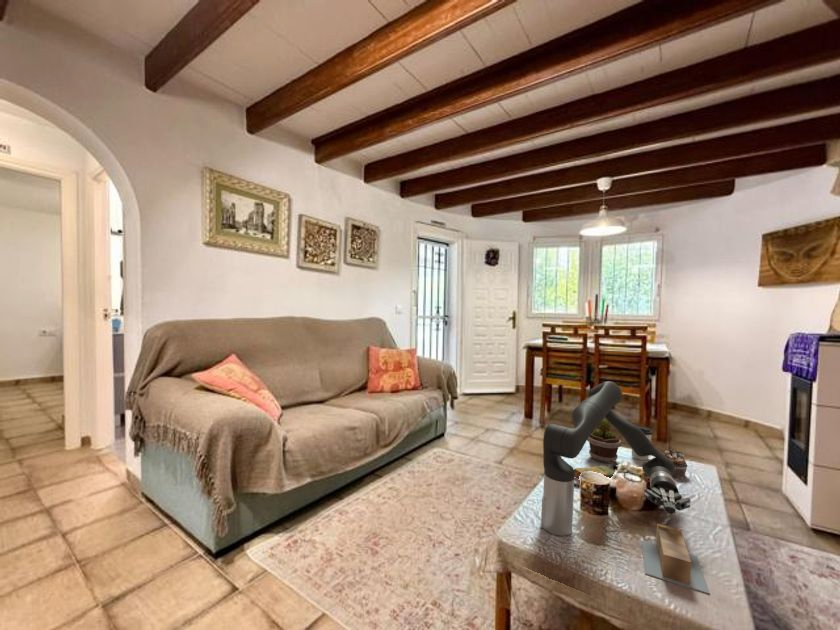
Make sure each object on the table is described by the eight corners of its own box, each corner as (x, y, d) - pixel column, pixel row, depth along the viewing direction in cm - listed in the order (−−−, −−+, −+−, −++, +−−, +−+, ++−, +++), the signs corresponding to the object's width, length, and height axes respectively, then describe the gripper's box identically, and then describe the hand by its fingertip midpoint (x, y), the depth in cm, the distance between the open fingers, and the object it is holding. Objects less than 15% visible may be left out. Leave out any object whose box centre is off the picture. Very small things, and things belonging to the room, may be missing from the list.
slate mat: (645, 574, 100) (645, 573, 100) (641, 541, 114) (641, 540, 114) (709, 594, 93) (709, 593, 93) (696, 556, 107) (697, 555, 107)
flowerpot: (619, 469, 165) (621, 425, 164) (582, 460, 173) (584, 418, 173) (622, 458, 177) (624, 417, 177) (587, 450, 185) (589, 411, 185)
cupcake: (655, 471, 164) (657, 448, 164) (668, 467, 169) (669, 445, 168) (679, 480, 156) (680, 457, 155) (691, 476, 160) (692, 453, 160)
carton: (573, 477, 156) (573, 467, 156) (604, 474, 160) (604, 464, 160) (586, 487, 148) (587, 476, 148) (619, 483, 152) (619, 473, 152)
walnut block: (656, 542, 113) (662, 576, 99) (657, 523, 113) (663, 554, 99) (679, 549, 110) (689, 584, 96) (680, 529, 110) (691, 562, 96)
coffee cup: (630, 451, 186) (631, 422, 185) (651, 456, 180) (653, 426, 180) (628, 457, 178) (629, 427, 178) (650, 462, 173) (651, 431, 173)
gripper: (641, 470, 128) (645, 492, 112) (687, 480, 122) (698, 504, 106) (640, 492, 128) (644, 516, 113) (686, 502, 122) (697, 530, 107)
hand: (670, 511), depth 110 cm, fingers closed
